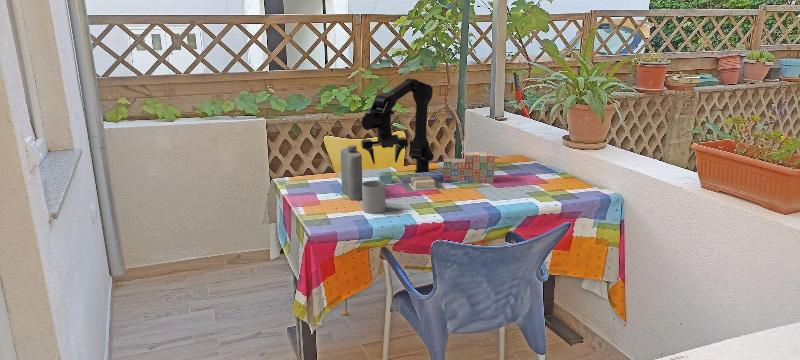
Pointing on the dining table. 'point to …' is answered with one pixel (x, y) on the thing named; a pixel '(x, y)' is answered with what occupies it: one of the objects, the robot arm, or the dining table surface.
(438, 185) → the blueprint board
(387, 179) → the teal cube
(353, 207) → the dining table surface
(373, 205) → the cup
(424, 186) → the maple slab
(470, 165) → the stack of blocks
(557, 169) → the dining table surface
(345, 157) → the flask
